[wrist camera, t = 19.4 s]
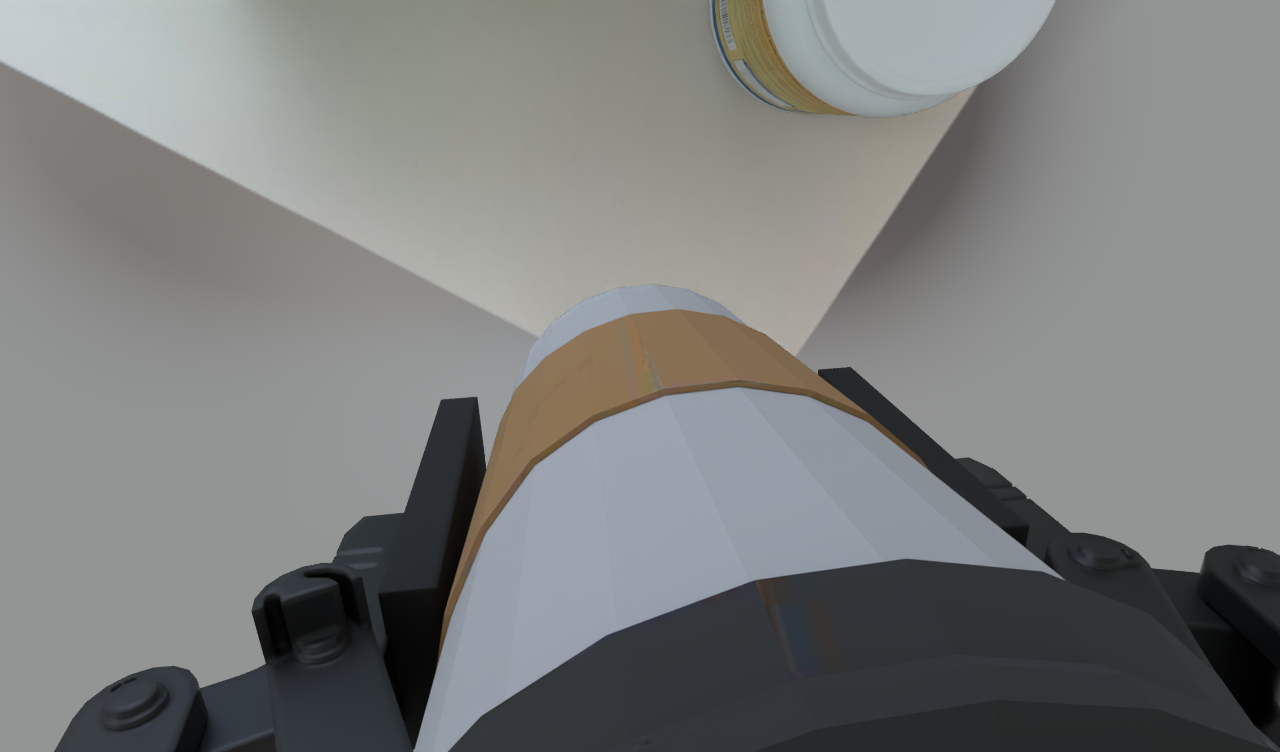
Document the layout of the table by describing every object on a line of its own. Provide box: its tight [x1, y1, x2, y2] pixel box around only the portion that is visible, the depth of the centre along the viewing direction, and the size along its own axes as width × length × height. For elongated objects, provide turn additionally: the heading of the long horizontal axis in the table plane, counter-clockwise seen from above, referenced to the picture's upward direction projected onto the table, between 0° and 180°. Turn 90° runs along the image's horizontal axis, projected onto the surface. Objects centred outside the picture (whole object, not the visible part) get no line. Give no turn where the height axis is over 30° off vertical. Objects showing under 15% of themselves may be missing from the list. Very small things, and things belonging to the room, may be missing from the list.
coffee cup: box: [414, 284, 1280, 752], centre depth 11 cm, size 8×8×15 cm
